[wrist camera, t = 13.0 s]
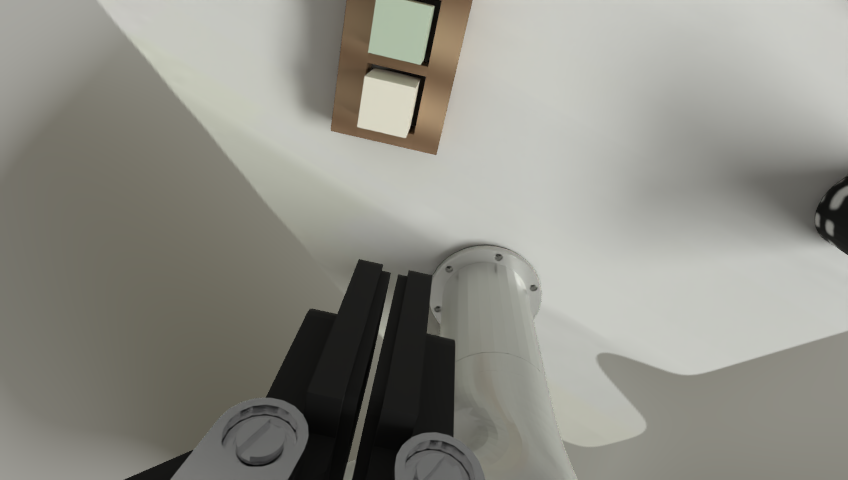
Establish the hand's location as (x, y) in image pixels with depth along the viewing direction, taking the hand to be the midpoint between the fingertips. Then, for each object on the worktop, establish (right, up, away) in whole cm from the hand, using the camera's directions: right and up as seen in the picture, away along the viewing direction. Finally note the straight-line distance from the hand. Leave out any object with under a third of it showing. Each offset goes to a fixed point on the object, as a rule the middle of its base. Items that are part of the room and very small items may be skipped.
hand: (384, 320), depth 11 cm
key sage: (-1, +20, +30) cm, 36 cm away
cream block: (-2, +15, +33) cm, 36 cm away
